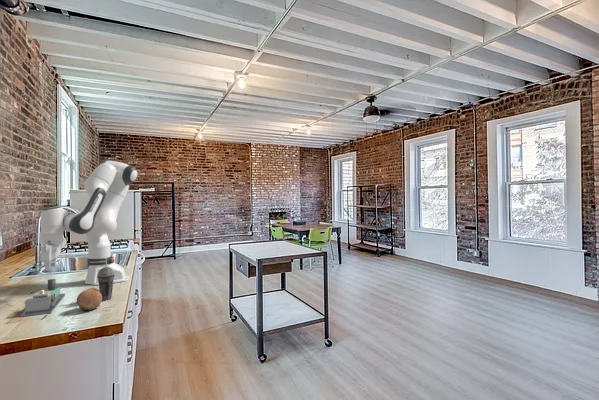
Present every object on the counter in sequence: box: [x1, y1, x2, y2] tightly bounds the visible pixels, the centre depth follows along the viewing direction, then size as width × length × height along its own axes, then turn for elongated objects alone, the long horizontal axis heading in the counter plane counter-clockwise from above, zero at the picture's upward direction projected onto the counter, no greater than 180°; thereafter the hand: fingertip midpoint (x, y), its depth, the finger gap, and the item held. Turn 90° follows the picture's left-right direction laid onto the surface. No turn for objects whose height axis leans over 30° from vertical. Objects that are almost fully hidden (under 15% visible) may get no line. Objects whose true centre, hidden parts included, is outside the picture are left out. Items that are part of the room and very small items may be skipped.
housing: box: [32, 289, 51, 298], centre depth 138 cm, size 5×5×7 cm
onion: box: [76, 287, 103, 311], centre depth 138 cm, size 10×9×10 cm
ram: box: [43, 278, 61, 300], centre depth 149 cm, size 6×11×8 cm, turn 26°
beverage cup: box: [97, 258, 115, 302], centre depth 151 cm, size 7×7×20 cm
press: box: [20, 293, 66, 318], centre depth 142 cm, size 10×26×6 cm, turn 26°
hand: (50, 268), depth 152 cm, fingers open, 8 cm apart
